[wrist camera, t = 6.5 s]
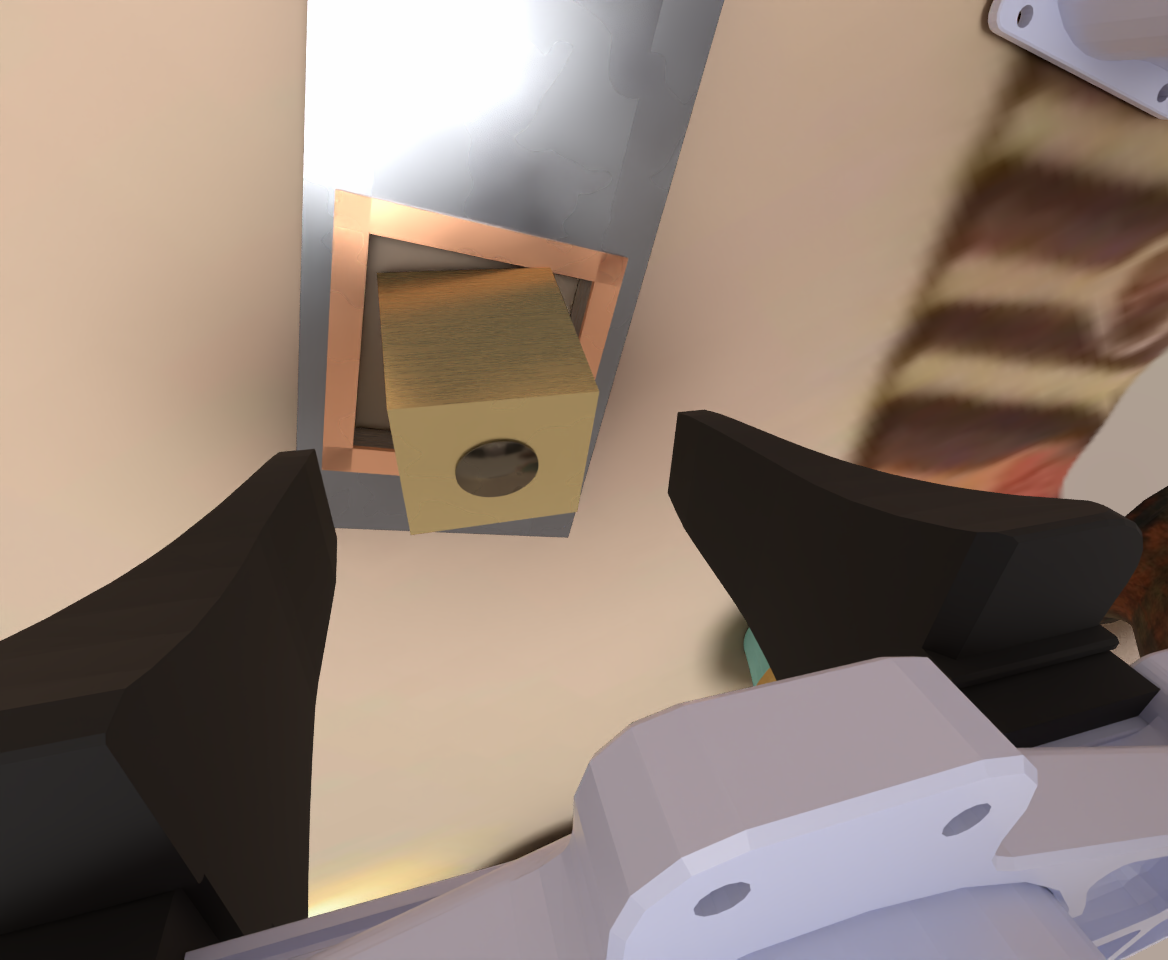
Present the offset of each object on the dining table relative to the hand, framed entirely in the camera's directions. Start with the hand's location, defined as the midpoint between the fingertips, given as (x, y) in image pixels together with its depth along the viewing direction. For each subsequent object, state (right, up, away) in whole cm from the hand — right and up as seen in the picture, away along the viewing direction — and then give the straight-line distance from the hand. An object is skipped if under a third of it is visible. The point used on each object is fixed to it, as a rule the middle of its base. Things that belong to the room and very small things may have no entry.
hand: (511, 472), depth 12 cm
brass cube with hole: (-2, +4, +5) cm, 7 cm away
